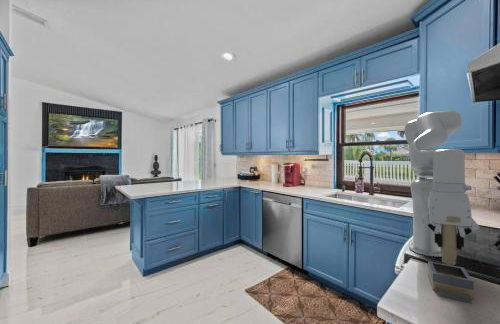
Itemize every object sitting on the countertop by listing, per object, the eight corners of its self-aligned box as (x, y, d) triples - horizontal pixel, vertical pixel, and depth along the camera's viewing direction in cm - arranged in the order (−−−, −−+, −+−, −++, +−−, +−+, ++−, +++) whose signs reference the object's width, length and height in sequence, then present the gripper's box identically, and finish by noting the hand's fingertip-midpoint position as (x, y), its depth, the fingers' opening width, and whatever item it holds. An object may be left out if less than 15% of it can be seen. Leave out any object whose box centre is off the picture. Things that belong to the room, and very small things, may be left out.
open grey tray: (426, 272, 79) (426, 258, 79) (461, 279, 75) (461, 264, 75) (434, 294, 66) (434, 277, 66) (477, 304, 61) (477, 286, 61)
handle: (459, 269, 66) (459, 218, 66) (432, 261, 72) (432, 214, 72) (465, 265, 69) (465, 216, 69) (439, 258, 74) (439, 212, 74)
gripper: (481, 189, 69) (481, 248, 69) (414, 186, 78) (414, 239, 78) (490, 191, 63) (491, 257, 63) (416, 188, 72) (416, 245, 72)
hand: (448, 246), depth 70 cm, fingers closed on handle, 4 cm apart
